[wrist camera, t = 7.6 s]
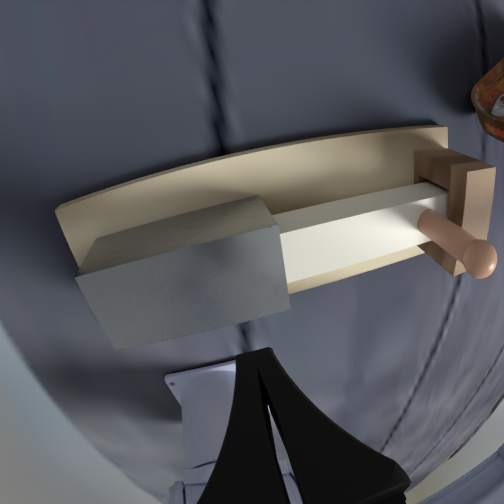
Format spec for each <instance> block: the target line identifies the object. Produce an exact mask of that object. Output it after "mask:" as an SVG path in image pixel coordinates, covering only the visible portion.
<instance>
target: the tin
mask: <svg viewBox="0 0 504 504" xmlns="http://www.w3.org/2000/svg"><path fill="white" fill-rule="evenodd" d="M471 100H472V103H473V105H474V106H475V109H476V112H477V115H478V118H479V121H480V124H481V126H482V127H483V129H484V130H485V132H486V133H487V134H489V135H490V136H492V137H494V138H495V139H498V140H500V141H502V142H504V57H503V58H502V59H501V60H500V61H499V62H498V63H497V64H496V65H495V66H494V67H493V68H492V69H491V70H490V71H489V72H488V73H486V74H485V75H484V76H483V77H482V78H481V79H480V80H479V81H478V82H477V83H476V84H475V85H474V87H473V89H472V91H471Z"/></svg>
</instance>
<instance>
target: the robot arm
mask: <svg viewBox="0 0 504 504" xmlns="http://www.w3.org/2000/svg"><path fill="white" fill-rule="evenodd" d="M165 382H166V384H167V385H168V387H169V388H170V390H171V392H172V393H173V395H174V396H175V398H176V399H177V401H178V402H179V404H180V405H181V410H182V427H183V441H184V454H185V466H186V469H184V481H185V484H184V482H183V481H175V482H174V484H173V485H172V486H171V487H170V488H169V504H406V502H405V501H406V497H405V495H404V491H405V490H406V489H407V488H408V487H409V485H410V483H411V481H410V479H409V477H408V475H407V474H406V472H405V471H404V470H403V469H402V468H401V467H400V465H399V464H398V463H397V462H396V461H394V460H392V459H390V458H388V457H386V456H384V455H383V454H381V453H379V452H377V451H375V450H373V449H372V448H370V447H368V446H367V445H365V444H364V443H362V442H360V441H359V440H357V439H356V438H355V437H353V436H352V435H350V434H349V433H347V432H346V431H345V430H343V429H342V428H341V427H339V426H338V425H337V424H336V423H334V422H333V421H332V420H331V419H329V418H328V417H327V416H326V415H325V414H324V413H323V412H322V411H320V410H319V409H318V408H317V407H316V406H315V405H314V404H313V403H312V402H311V401H310V400H309V399H308V398H307V397H306V396H305V394H304V393H303V392H302V391H301V390H300V389H299V388H298V386H297V385H296V384H295V383H294V382H293V380H292V379H291V378H290V377H289V375H288V374H287V373H286V371H285V370H284V368H283V367H282V366H281V364H280V363H279V361H278V359H277V358H276V356H275V354H274V352H273V350H272V348H270V347H267V348H263V349H259V350H256V351H252V352H248V353H244V354H240V355H237V356H236V357H235V360H233V361H229V362H225V363H220V364H216V365H211V366H207V367H202V368H198V369H193V370H188V371H183V372H178V373H173V374H168V375H166V376H165ZM172 382H173V383H172ZM269 412H271V414H272V417H273V419H274V422H275V424H276V427H277V429H278V431H279V434H280V436H281V439H282V441H283V444H284V446H285V449H286V451H287V454H288V457H289V460H290V463H291V467H292V470H288V467H287V463H286V460H281V461H279V460H278V456H277V453H276V449H275V443H274V438H273V432H272V426H271V421H270V415H269ZM416 504H504V444H503V445H502V446H501V447H500V448H499V449H498V450H497V451H496V452H495V453H493V454H492V455H491V456H490V457H488V458H487V459H486V460H484V461H483V462H482V463H480V464H479V465H478V466H476V467H475V468H473V469H472V470H470V471H469V472H468V473H466V474H465V475H463V476H462V477H460V478H459V479H457V480H456V481H454V482H452V483H451V484H450V485H448V486H446V487H444V488H443V489H441V490H439V491H438V492H436V493H434V494H433V495H431V496H429V497H427V498H426V499H424V500H422V501H420V502H419V503H416Z"/></svg>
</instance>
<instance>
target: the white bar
mask: <svg viewBox="0 0 504 504" xmlns="http://www.w3.org/2000/svg"><path fill="white" fill-rule="evenodd" d="M449 196H450V190H448V189H446V188H444V187H442V186H440V185H438V184H436V183H434V182H432V181H428V182H423V183H418V184H413V185H408V186H403V187H398V188H393V189H388V190H384V191H379V192H374V193H369V194H365V195H360V196H355V197H351V198H346V199H341V200H337V201H332V202H328V203H323V204H319V205H315V206H310V207H306V208H301V209H297V210H293V211H288V212H284V213H280V214H276V215H272V216H273V218H274V219H275V221H276V222H277V224H278V226H279V233H280V239H281V246H282V252H283V259H284V266H285V273H286V280H287V283H290V282H293V281H297V280H301V279H304V278H308V277H312V276H315V275H319V274H322V273H326V272H329V271H333V270H336V269H340V268H343V267H347V266H350V265H354V264H357V263H360V262H364V261H367V260H370V259H374V258H377V257H380V256H384V255H387V254H390V253H394V252H397V251H400V250H403V249H406V248H410V247H413V246H416V245H419V244H422V243H425V242H428V241H433V242H435V243H436V244H437V245H439V246H440V247H441V248H443V249H444V250H445V251H447V252H448V253H449V254H450V255H452V256H453V257H454V258H455V259H457V260H458V261H459V262H460V263H462V264H463V265H464V268H465V270H466V271H467V273H468V274H469V275H470V276H472V277H474V278H477V279H483V278H486V277H488V276H489V275H490V274H492V272H493V271H494V269H495V267H496V264H497V253H496V250H495V248H494V247H493V245H492V244H491V243H489V242H488V241H486V240H483V239H477V238H476V237H474V236H473V235H471V234H470V233H468V232H467V231H465V230H464V229H462V228H461V227H459V226H458V225H456V224H455V223H453V222H452V221H450V220H449V219H448V209H449Z"/></svg>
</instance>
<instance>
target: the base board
mask: <svg viewBox="0 0 504 504" xmlns="http://www.w3.org/2000/svg"><path fill="white" fill-rule="evenodd" d="M440 147H444V148H447V149H448V131H447V127H446V126H442V125H424V126H410V127H398V128H387V129H377V130H368V131H360V132H352V133H344V134H337V135H330V136H323V137H317V138H310V139H304V140H298V141H293V142H287V143H282V144H276V145H271V146H266V147H261V148H256V149H251V150H246V151H242V152H237V153H233V154H228V155H224V156H220V157H215V158H211V159H207V160H203V161H199V162H195V163H191V164H187V165H183V166H180V167H176V168H172V169H169V170H165V171H161V172H158V173H154V174H151V175H148V176H144V177H141V178H138V179H134V180H131V181H128V182H125V183H122V184H118V185H115V186H112V187H109V188H106V189H103V190H100V191H97V192H94V193H92V194H89V195H86V196H83V197H80V198H77V199H75V200H72V201H69V202H67V203H64V204H61V205H60V206H59V207H58V208H57V209H56V210H54V211H55V213H56V216H57V218H58V221H59V223H60V226H61V228H62V230H63V233H64V235H65V238H66V240H67V242H68V244H69V247H70V249H71V251H72V253H73V256H74V258H75V260H76V262H77V264H78V266H79V268H80V266H81V265H82V263H83V261H84V259H85V257H86V255H87V254H88V252H89V250H90V248H91V246H92V245H93V243H94V241H95V239H96V238H99V237H102V236H105V235H109V234H112V233H115V232H119V231H122V230H126V229H129V228H133V227H136V226H140V225H143V224H147V223H150V222H154V221H157V220H161V219H165V218H168V217H172V216H176V215H180V214H183V213H187V212H191V211H195V210H199V209H203V208H207V207H210V206H214V205H219V204H223V203H227V202H231V201H235V200H239V199H243V198H247V197H252V196H256V195H259V197H260V198H261V200H262V201H263V203H264V204H265V206H266V207H267V209H268V210H269V212H270V213H271V215H276V214H280V213H284V212H288V211H293V210H297V209H301V208H306V207H310V206H315V205H319V204H323V203H328V202H332V201H337V200H341V199H346V198H351V197H355V196H360V195H365V194H369V193H374V192H379V191H384V190H388V189H393V188H398V187H403V186H408V185H413V184H414V152H413V151H415V150H423V149H431V148H440ZM422 253H425V252H424V251H423V250H421V249H420V248H419V247H418V246H413V247H410V248H406V249H403V250H400V251H397V252H394V253H390V254H387V255H384V256H380V257H377V258H374V259H370V260H367V261H364V262H360V263H357V264H354V265H350V266H347V267H343V268H340V269H336V270H333V271H329V272H326V273H322V274H319V275H315V276H312V277H308V278H304V279H301V280H297V281H293V282H290V283H287V287H288V294H291V293H295V292H298V291H302V290H305V289H309V288H313V287H316V286H319V285H323V284H326V283H330V282H333V281H337V280H340V279H343V278H347V277H350V276H353V275H357V274H360V273H363V272H366V271H370V270H373V269H376V268H379V267H382V266H385V265H389V264H392V263H395V262H398V261H401V260H404V259H407V258H410V257H413V256H416V255H419V254H422Z"/></svg>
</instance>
